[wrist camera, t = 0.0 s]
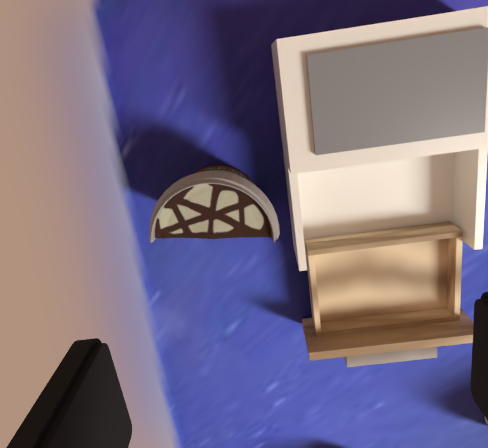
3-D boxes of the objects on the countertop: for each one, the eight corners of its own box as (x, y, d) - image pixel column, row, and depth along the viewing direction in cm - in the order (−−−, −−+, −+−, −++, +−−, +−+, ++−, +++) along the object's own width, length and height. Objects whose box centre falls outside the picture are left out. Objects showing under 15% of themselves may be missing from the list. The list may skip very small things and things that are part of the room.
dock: (455, 227, 49) (502, 264, 40) (293, 248, 50) (303, 288, 41) (461, 15, 41) (520, 0, 32) (270, 44, 42) (276, 38, 33)
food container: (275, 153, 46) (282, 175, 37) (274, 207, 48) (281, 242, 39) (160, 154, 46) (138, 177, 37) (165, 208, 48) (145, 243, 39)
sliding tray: (453, 325, 53) (481, 360, 46) (304, 342, 54) (311, 379, 47) (456, 217, 48) (488, 239, 42) (292, 237, 49) (299, 263, 43)
